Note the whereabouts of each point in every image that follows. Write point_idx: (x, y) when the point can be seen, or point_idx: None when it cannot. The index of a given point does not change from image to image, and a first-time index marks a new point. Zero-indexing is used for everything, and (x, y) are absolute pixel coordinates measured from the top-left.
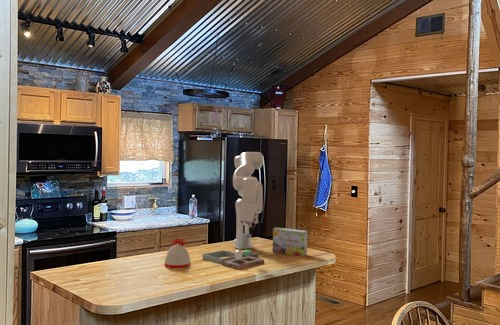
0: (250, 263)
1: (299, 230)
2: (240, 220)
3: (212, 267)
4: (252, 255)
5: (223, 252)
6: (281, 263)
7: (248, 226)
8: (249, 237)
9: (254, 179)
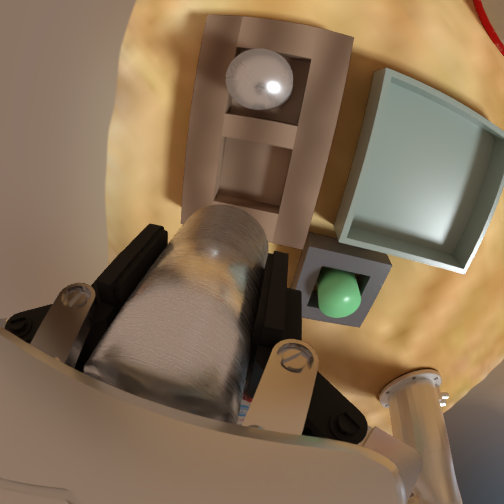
0: (192, 110)
1: None
2: (387, 447)
3: (387, 18)
4: (298, 278)
5: (458, 263)
6: None
7: (128, 303)
8: (394, 421)
9: None
